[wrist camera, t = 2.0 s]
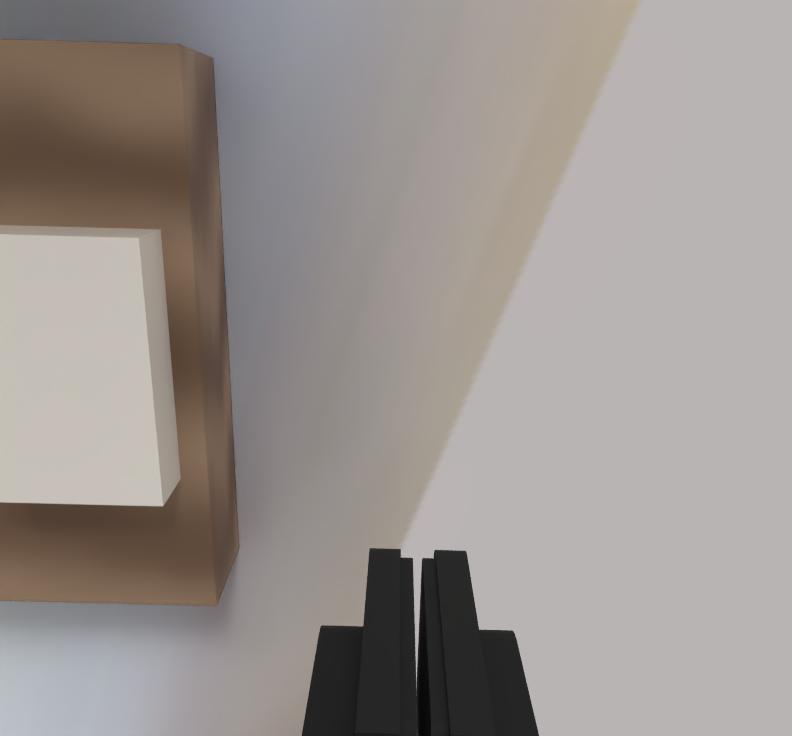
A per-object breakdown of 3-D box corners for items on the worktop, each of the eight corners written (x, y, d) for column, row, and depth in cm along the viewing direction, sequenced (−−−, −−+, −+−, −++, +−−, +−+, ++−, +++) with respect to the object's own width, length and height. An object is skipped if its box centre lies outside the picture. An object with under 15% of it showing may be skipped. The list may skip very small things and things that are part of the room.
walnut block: (-128, 48, 24) (-224, 33, 21) (213, 58, 25) (178, 44, 21) (-32, 541, 31) (-92, 598, 27) (239, 548, 31) (216, 605, 27)
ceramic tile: (-25, 224, 22) (-64, 232, 21) (160, 229, 22) (138, 237, 21) (16, 474, 25) (-15, 502, 23) (180, 478, 25) (162, 506, 23)
